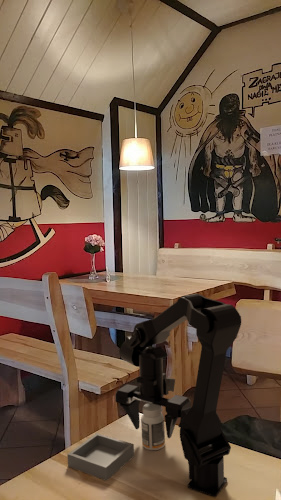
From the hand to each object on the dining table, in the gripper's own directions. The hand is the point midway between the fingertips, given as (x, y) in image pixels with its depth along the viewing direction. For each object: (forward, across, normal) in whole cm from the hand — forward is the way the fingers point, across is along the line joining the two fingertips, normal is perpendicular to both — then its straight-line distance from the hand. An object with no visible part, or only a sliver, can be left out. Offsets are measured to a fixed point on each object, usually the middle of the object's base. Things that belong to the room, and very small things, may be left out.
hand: (153, 433), depth 111 cm
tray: (+3, +7, +12) cm, 14 cm away
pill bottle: (+3, 0, 0) cm, 3 cm away
